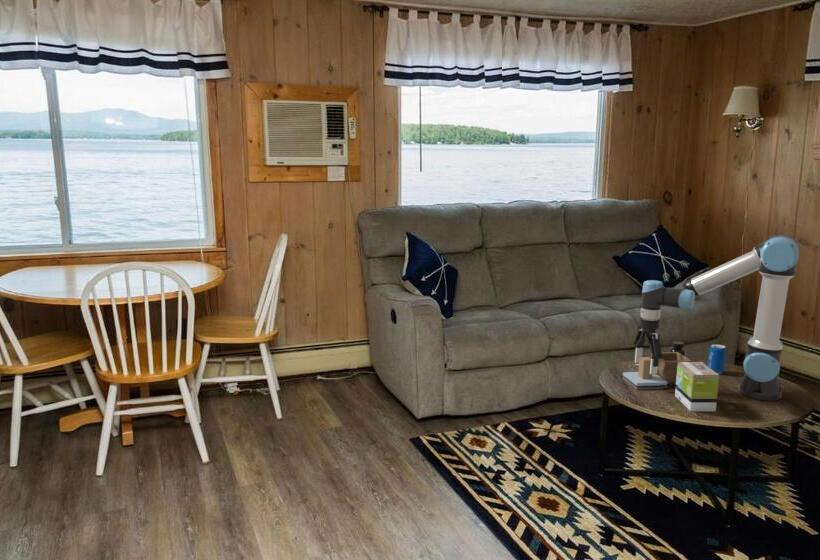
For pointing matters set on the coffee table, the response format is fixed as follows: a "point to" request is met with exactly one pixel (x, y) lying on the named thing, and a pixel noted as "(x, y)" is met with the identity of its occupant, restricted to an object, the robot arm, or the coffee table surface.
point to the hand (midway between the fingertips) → (645, 368)
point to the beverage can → (717, 358)
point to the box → (670, 366)
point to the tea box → (697, 386)
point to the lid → (644, 375)
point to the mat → (644, 386)
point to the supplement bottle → (678, 348)
